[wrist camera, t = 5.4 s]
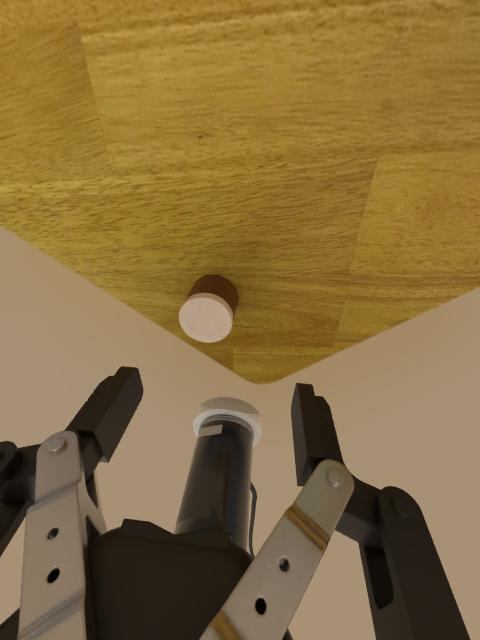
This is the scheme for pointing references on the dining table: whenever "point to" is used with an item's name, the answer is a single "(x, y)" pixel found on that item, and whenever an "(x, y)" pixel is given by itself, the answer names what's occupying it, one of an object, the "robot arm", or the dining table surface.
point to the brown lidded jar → (209, 309)
